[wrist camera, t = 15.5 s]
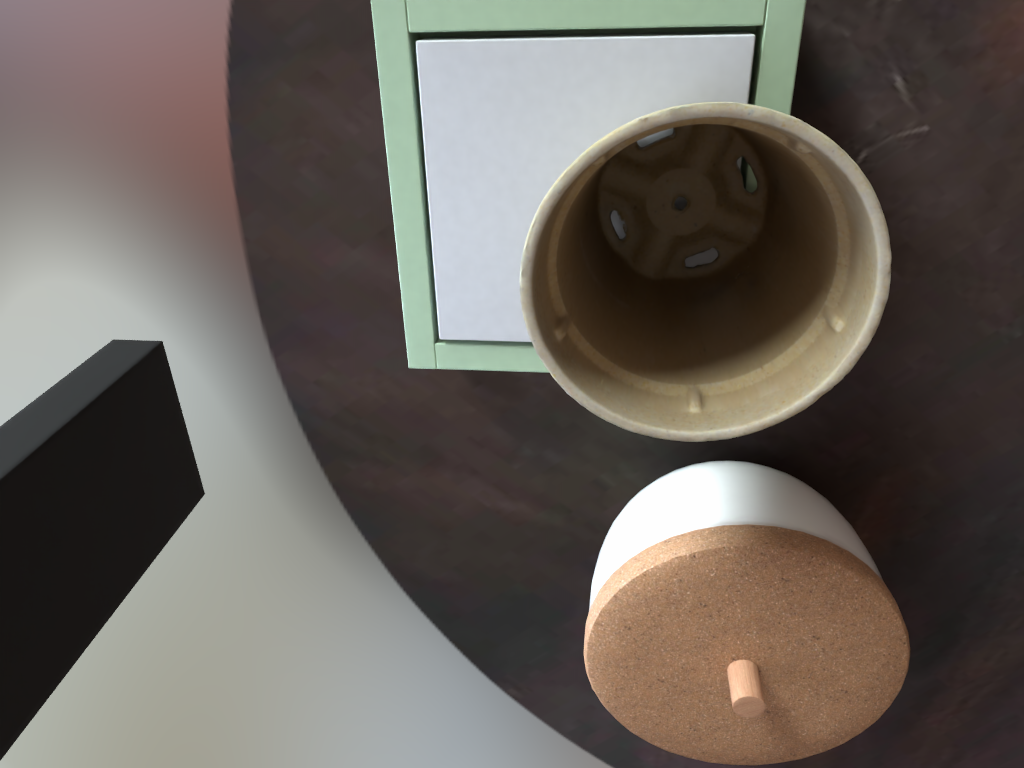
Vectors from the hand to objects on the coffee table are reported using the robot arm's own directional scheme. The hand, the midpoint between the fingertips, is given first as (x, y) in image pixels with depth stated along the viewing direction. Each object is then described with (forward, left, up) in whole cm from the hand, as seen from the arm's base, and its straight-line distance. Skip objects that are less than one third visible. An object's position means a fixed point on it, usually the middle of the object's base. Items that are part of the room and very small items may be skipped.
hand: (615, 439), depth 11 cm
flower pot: (+2, +2, -19) cm, 19 cm away
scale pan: (+2, -1, -20) cm, 20 cm away
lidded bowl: (+19, +6, -23) cm, 30 cm away
